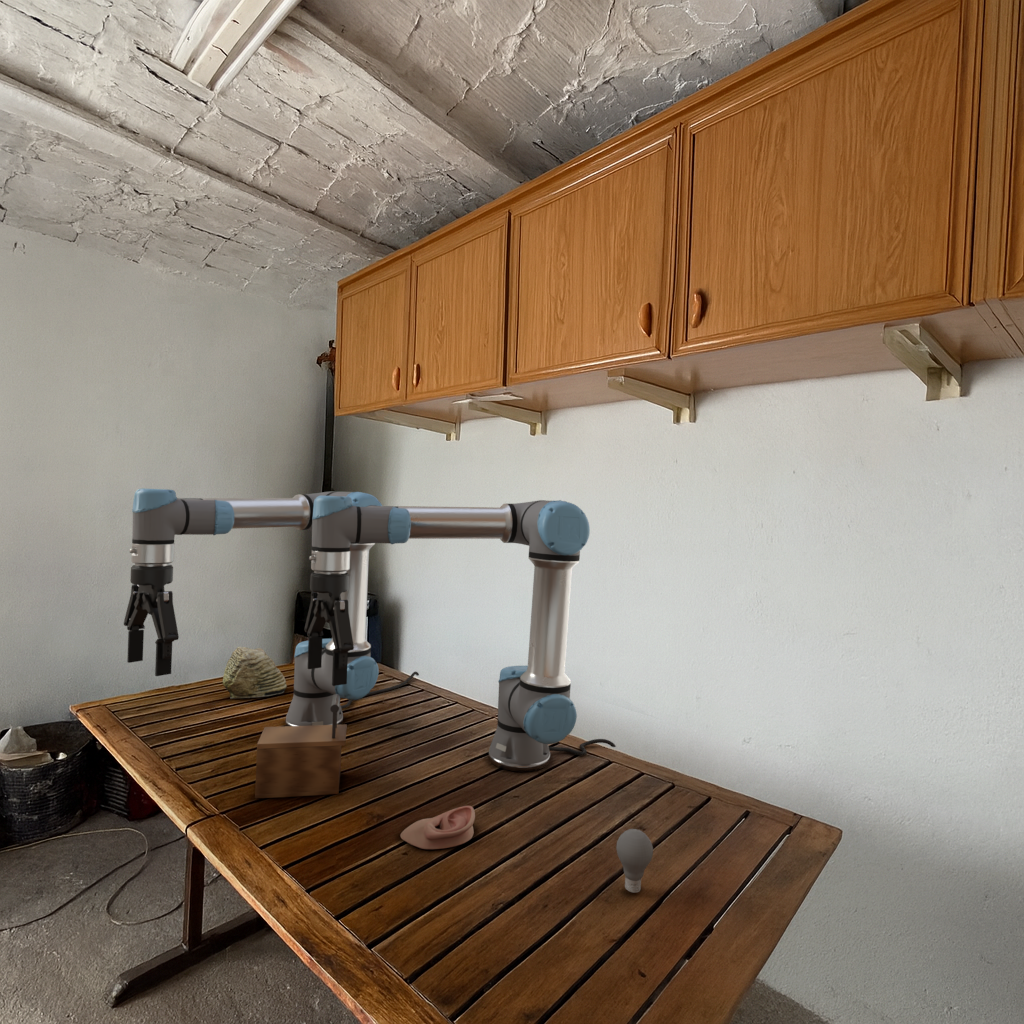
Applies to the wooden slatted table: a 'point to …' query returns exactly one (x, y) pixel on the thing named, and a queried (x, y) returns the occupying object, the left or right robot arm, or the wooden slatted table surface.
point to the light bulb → (634, 857)
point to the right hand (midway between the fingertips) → (326, 676)
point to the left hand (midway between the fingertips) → (148, 668)
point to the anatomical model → (442, 829)
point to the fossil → (252, 674)
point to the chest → (297, 771)
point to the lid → (305, 733)
